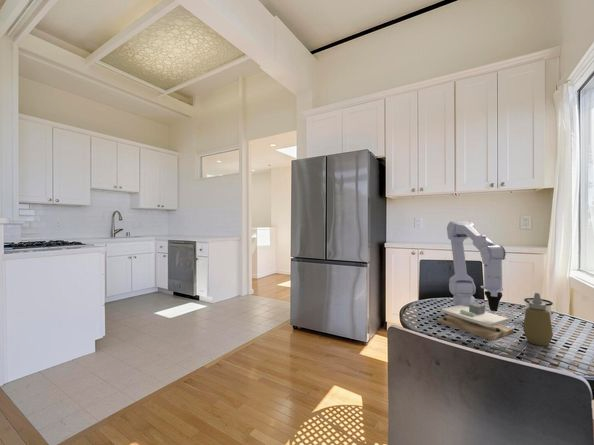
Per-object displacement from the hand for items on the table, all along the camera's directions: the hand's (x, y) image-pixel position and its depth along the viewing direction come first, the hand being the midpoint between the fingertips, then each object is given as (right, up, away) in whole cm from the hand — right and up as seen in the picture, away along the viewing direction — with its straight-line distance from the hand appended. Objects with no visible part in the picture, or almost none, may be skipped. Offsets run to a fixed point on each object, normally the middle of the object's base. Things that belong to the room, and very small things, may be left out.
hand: (493, 310), depth 108 cm
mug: (+27, -9, +12) cm, 30 cm away
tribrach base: (-3, -9, +7) cm, 12 cm away
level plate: (-3, -4, +7) cm, 9 cm away
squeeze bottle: (+10, -9, -9) cm, 16 cm away
